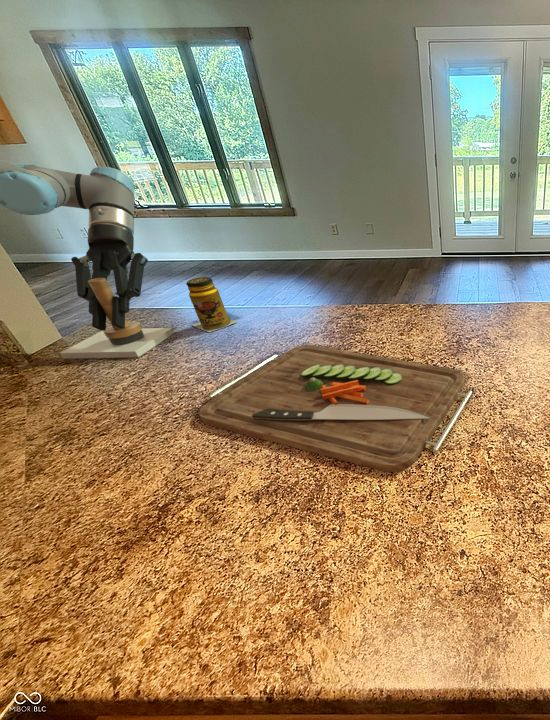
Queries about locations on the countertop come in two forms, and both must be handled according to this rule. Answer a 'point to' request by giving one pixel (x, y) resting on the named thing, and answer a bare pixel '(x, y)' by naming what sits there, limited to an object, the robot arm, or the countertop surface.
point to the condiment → (208, 305)
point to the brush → (112, 332)
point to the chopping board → (341, 405)
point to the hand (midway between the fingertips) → (108, 327)
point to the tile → (105, 349)
